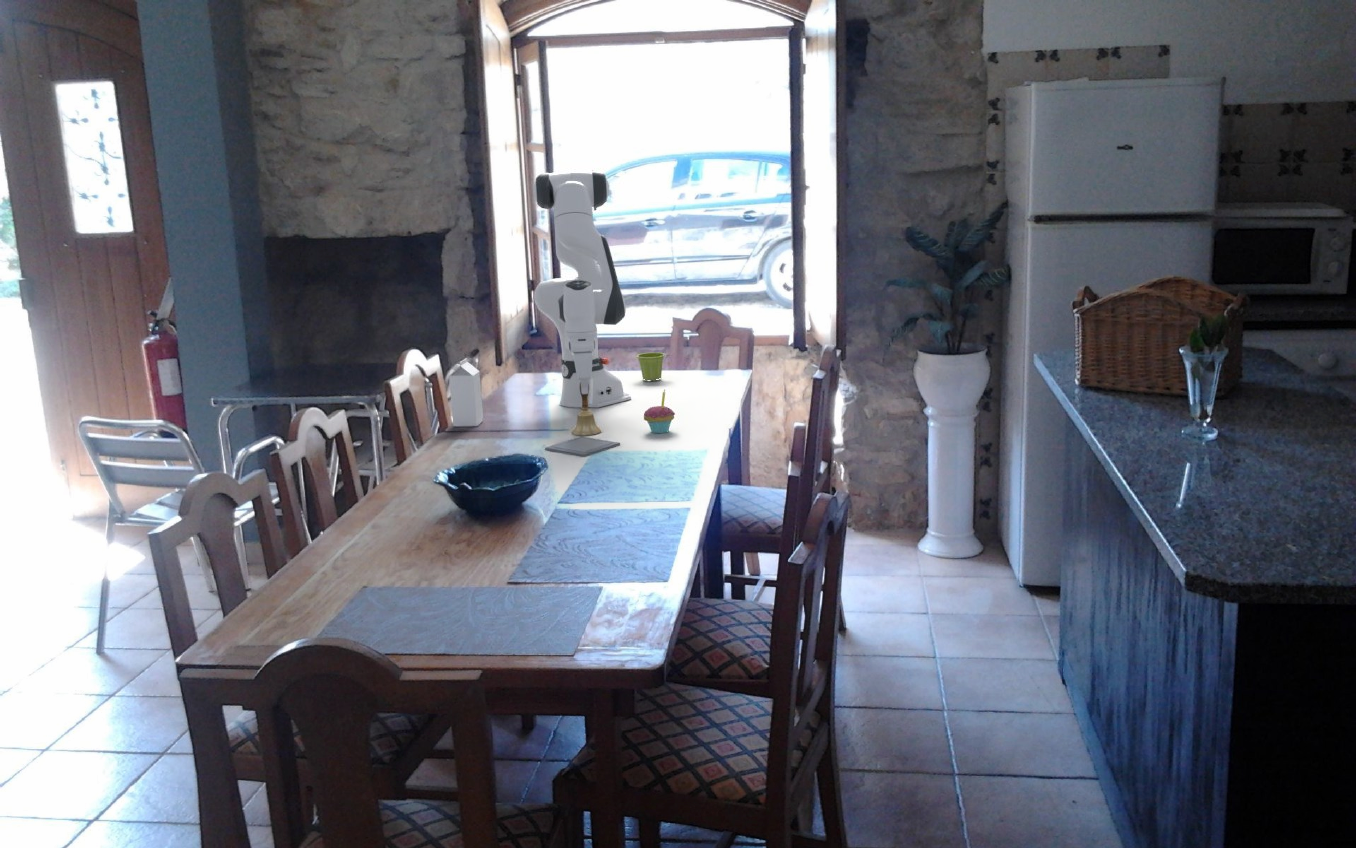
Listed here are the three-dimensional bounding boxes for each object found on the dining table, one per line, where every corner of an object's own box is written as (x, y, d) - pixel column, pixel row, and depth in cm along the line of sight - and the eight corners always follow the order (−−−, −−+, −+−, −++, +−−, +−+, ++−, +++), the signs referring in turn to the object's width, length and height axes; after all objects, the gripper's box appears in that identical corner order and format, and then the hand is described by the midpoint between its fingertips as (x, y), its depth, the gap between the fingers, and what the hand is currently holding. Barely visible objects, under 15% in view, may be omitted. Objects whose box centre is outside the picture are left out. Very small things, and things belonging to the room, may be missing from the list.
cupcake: (679, 428, 324) (677, 386, 321) (669, 435, 316) (667, 392, 313) (650, 427, 327) (648, 385, 324) (639, 434, 319) (637, 391, 316)
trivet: (581, 438, 317) (581, 436, 317) (620, 444, 308) (619, 442, 308) (545, 449, 306) (544, 447, 306) (584, 456, 298) (583, 454, 297)
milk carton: (483, 421, 343) (478, 357, 338) (477, 426, 336) (471, 361, 331) (460, 421, 343) (454, 358, 339) (453, 427, 337) (447, 362, 332)
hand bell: (571, 429, 328) (568, 374, 324) (601, 428, 328) (598, 372, 325) (571, 436, 320) (568, 379, 316) (601, 434, 320) (598, 378, 317)
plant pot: (655, 383, 389) (654, 357, 387) (632, 381, 394) (631, 356, 392) (671, 378, 396) (670, 353, 394) (648, 376, 401) (647, 351, 400)
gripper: (568, 336, 328) (571, 384, 331) (570, 347, 308) (573, 398, 311) (591, 334, 328) (594, 382, 332) (594, 345, 309) (597, 396, 312)
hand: (584, 390), depth 321 cm, fingers open, 7 cm apart
